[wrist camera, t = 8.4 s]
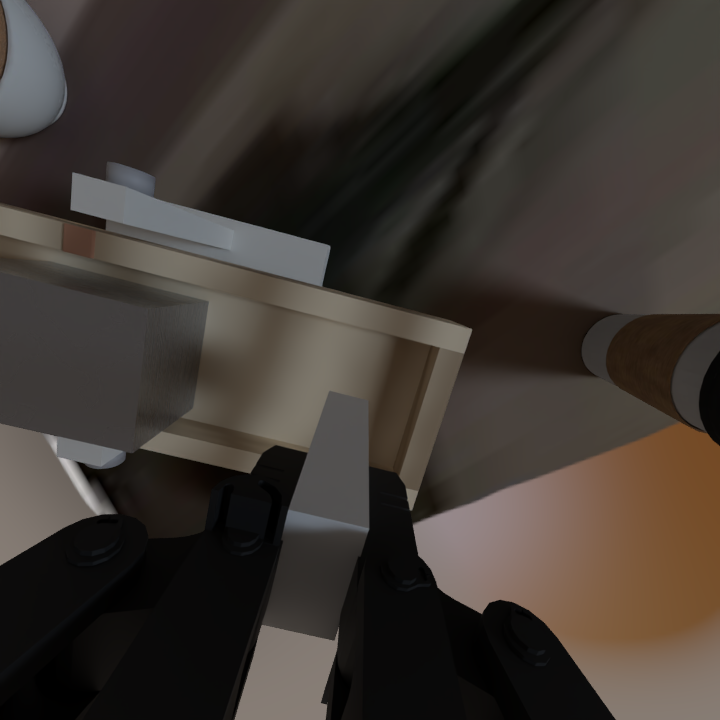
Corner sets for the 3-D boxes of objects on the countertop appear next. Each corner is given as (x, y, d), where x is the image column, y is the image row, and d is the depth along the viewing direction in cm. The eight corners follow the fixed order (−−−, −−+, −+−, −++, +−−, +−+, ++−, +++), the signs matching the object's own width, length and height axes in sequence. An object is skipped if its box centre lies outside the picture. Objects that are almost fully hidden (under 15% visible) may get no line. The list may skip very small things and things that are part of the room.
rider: (45, 373, 18) (-72, 406, 13) (50, 261, 17) (-78, 252, 12) (193, 408, 18) (132, 453, 14) (208, 301, 17) (148, 308, 12)
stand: (106, 371, 32) (-91, 438, 18) (122, 189, 28) (-109, 98, 14) (292, 417, 32) (239, 514, 19) (331, 245, 29) (300, 209, 15)
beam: (-186, 332, 20) (-323, 344, 16) (-208, 148, 17) (-372, 109, 14) (403, 471, 21) (412, 513, 18) (451, 320, 19) (473, 329, 15)
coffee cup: (572, 400, 32) (751, 500, 17) (561, 312, 30) (751, 340, 15) (664, 379, 31) (931, 464, 16) (658, 289, 29) (954, 293, 15)
